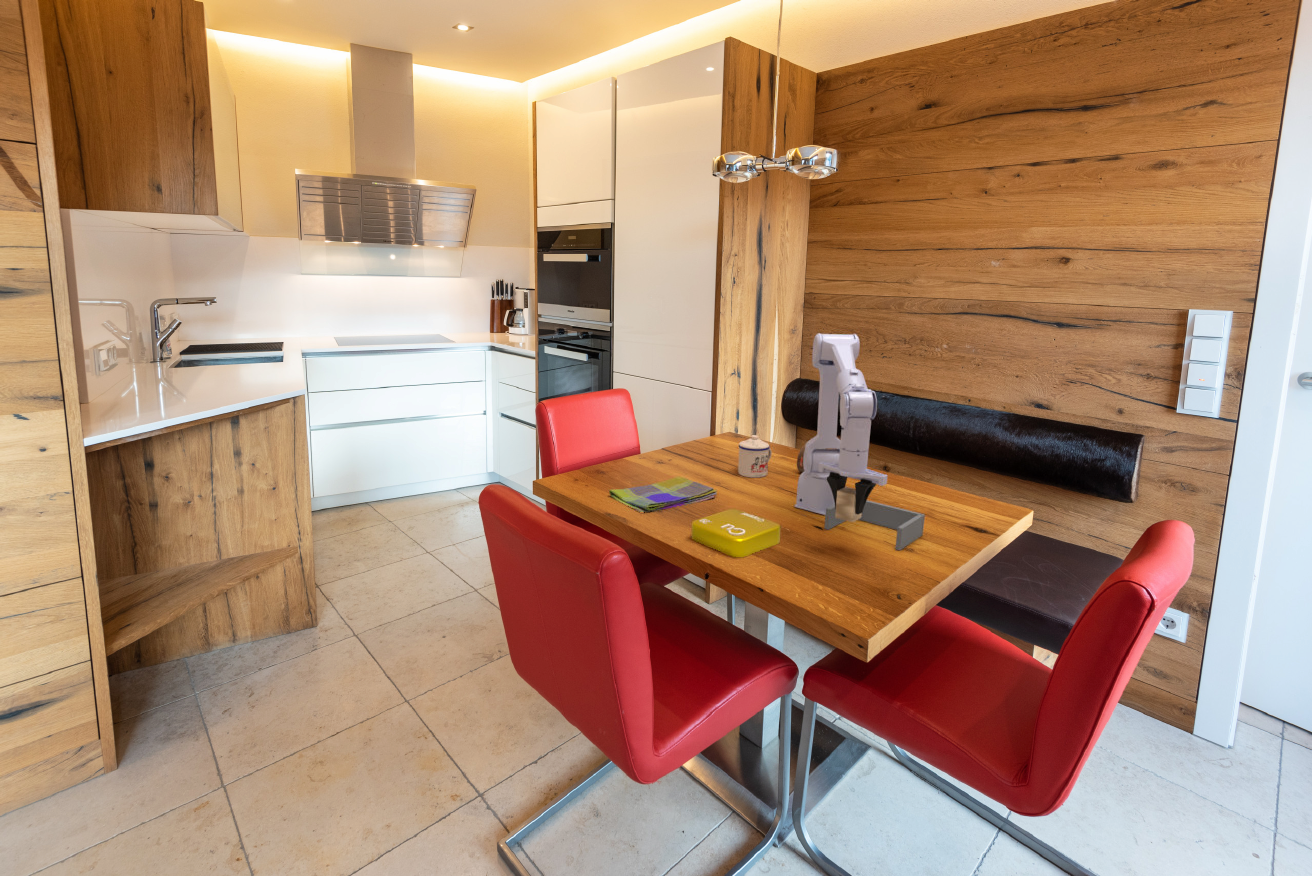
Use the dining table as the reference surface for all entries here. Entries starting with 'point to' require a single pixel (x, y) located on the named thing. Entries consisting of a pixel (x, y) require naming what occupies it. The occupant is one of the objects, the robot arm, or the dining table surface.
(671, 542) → the dining table surface
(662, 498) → the dish towel
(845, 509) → the birch block
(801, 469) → the tin
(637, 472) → the dining table surface
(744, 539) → the element tile
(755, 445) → the teacup with lid
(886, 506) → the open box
